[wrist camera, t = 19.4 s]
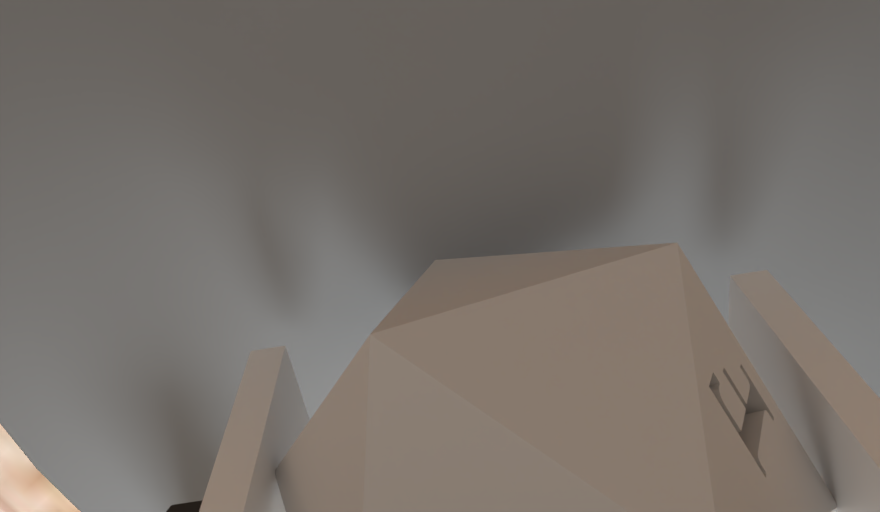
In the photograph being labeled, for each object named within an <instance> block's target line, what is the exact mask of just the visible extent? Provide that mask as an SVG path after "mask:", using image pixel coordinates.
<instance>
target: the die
mask: <svg viewBox="0 0 880 512" xmlns="http://www.w3.org/2000/svg"><path fill="white" fill-rule="evenodd" d="M275 474H276V480H277V483H278V487H279V490H280V493H281V497H282V500H283V503H284V507H285V510H286V512H836V511H837V508H838V507H837V504H836V501H835V499H834V497H833V496H832V494H831V492H830V491H829V489H828V487H827V486H826V484H825V483H824V481H823V479H822V478H821V476H820V474H819V473H818V471H817V469H816V468H815V466H814V465H813V463H812V461H811V460H810V458H809V456H808V455H807V453H806V452H805V450H804V448H803V447H802V445H801V443H800V442H799V440H798V438H797V437H796V435H795V434H794V432H793V430H792V429H791V427H790V425H789V424H788V422H787V421H786V419H785V417H784V416H783V414H782V412H781V411H780V409H779V408H778V406H777V404H776V403H775V401H774V399H773V398H772V396H771V394H770V393H769V391H768V390H767V388H766V386H765V385H764V383H763V381H762V380H761V378H760V377H759V375H758V373H757V372H756V370H755V368H754V367H753V365H752V364H751V362H750V360H749V359H748V357H747V355H746V354H745V352H744V350H743V349H742V347H741V346H740V344H739V342H738V341H737V339H736V337H735V336H734V334H733V333H732V331H731V329H730V328H729V326H728V324H727V323H726V321H725V319H724V318H723V316H722V315H721V313H720V311H719V310H718V308H717V306H716V305H715V303H714V302H713V300H712V298H711V297H710V295H709V293H708V292H707V290H706V289H705V287H704V285H703V284H702V282H701V280H700V279H699V277H698V275H697V274H696V272H695V271H694V269H693V267H692V266H691V264H690V262H689V261H688V259H687V258H686V256H685V254H684V253H683V251H682V249H681V248H680V246H679V245H678V243H665V244H651V245H637V246H623V247H609V248H595V249H581V250H567V251H553V252H540V253H526V254H512V255H498V256H484V257H470V258H456V259H442V260H435V261H434V262H433V263H432V264H431V265H430V267H429V268H428V269H427V270H426V271H425V272H424V273H423V275H422V276H421V277H420V278H419V279H418V280H417V281H416V283H415V284H414V285H413V286H412V287H411V288H410V289H409V290H408V292H407V293H406V294H405V295H404V296H403V297H402V298H401V300H400V301H399V302H398V303H397V304H396V305H395V306H394V308H393V309H392V310H391V311H390V312H389V313H388V314H387V315H386V317H385V318H384V319H383V320H382V321H381V322H380V323H379V325H378V326H377V327H376V328H375V329H374V330H373V331H372V333H371V334H370V335H369V336H368V338H367V339H366V341H365V342H364V344H363V345H362V346H361V348H360V349H359V351H358V352H357V354H356V355H355V356H354V358H353V359H352V361H351V362H350V364H349V365H348V366H347V368H346V369H345V371H344V372H343V374H342V375H341V376H340V378H339V379H338V381H337V382H336V384H335V385H334V386H333V388H332V389H331V391H330V392H329V394H328V395H327V396H326V398H325V399H324V401H323V402H322V404H321V405H320V406H319V408H318V409H317V411H316V412H315V414H314V415H313V416H312V418H311V419H310V421H309V422H308V424H307V425H306V426H305V428H304V429H303V431H302V432H301V434H300V435H299V437H298V438H297V439H296V441H295V442H294V444H293V445H292V447H291V448H290V449H289V451H288V452H287V454H286V455H285V457H284V458H283V459H282V461H281V462H280V464H279V465H278V467H277V468H276V469H275Z"/></svg>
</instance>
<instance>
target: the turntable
mask: <svg viewBox="0 0 880 512" xmlns="http://www.w3.org/2000/svg"><path fill="white" fill-rule="evenodd" d="M665 243H678V245H679V246H680V248H681V249H682V251H683V253H684V254H685V256H686V258H687V259H688V261H689V262H690V264H691V266H692V267H693V269H694V271H695V272H696V274H697V275H698V277H699V279H700V280H701V282H702V284H703V285H704V287H705V289H706V290H707V292H708V293H709V295H710V297H711V298H712V300H713V302H714V303H715V305H716V306H717V308H718V310H719V311H720V313H721V315H722V316H723V318H724V319H725V321H726V323H727V324H728V319H729V292H730V276H731V275H737V274H744V273H750V272H757V271H763V270H768V272H769V273H770V274H771V275H772V276H773V277H774V278H775V280H776V281H777V282H778V283H779V284H780V285H781V286H782V288H783V289H784V290H785V291H786V292H787V293H788V294H789V295H790V297H791V298H792V299H793V300H794V301H795V302H796V303H797V305H798V306H799V307H800V308H801V309H802V310H803V311H804V313H805V314H806V315H807V316H808V317H809V318H810V319H811V321H812V322H813V323H814V324H815V325H816V326H817V327H818V329H819V330H820V331H821V332H822V333H823V334H824V335H825V337H826V338H827V339H828V340H829V341H830V342H831V343H832V345H833V346H834V347H835V348H836V349H837V350H838V351H839V353H840V354H841V355H842V356H843V357H844V358H845V359H846V361H847V362H848V363H849V364H850V365H851V366H852V367H853V368H854V370H855V371H856V372H857V373H858V374H859V375H860V376H861V378H862V379H863V380H864V381H865V382H866V383H867V384H868V386H869V387H870V388H871V389H872V390H873V391H874V392H875V394H876V395H877V396H878V397H879V398H880V0H0V424H1V425H2V426H3V427H4V429H5V430H6V431H7V432H8V434H9V435H10V436H11V437H12V439H13V440H14V441H15V442H16V444H17V445H18V446H19V447H20V448H21V450H22V451H23V452H24V453H25V455H26V456H27V457H28V458H29V460H30V461H31V462H32V463H33V465H34V466H35V467H36V468H37V470H39V471H40V472H41V473H42V474H43V475H44V476H45V477H46V478H47V479H48V480H49V481H50V482H51V483H52V484H53V485H54V486H55V487H56V488H57V489H58V490H59V491H60V492H61V493H62V494H63V495H64V496H65V497H66V498H67V499H68V500H69V501H70V502H71V503H72V504H73V505H74V506H75V507H76V508H77V509H78V510H80V511H81V512H166V511H167V510H168V509H169V507H170V506H171V505H175V504H181V503H188V502H195V501H201V500H203V498H204V495H205V492H206V488H207V485H208V482H209V479H210V476H211V473H212V470H213V467H214V464H215V460H216V457H217V454H218V451H219V448H220V445H221V442H222V439H223V436H224V432H225V429H226V426H227V423H228V420H229V417H230V414H231V411H232V408H233V405H234V401H235V398H236V395H237V392H238V389H239V386H240V383H241V380H242V377H243V373H244V370H245V367H246V364H247V361H248V358H249V355H250V352H251V351H254V350H261V349H267V348H273V347H280V346H286V349H287V352H288V355H289V358H290V361H291V364H292V367H293V370H294V373H295V376H296V379H297V382H298V385H299V388H300V391H301V394H302V397H303V401H304V404H305V407H306V410H307V413H308V416H309V419H311V418H312V416H313V415H314V414H315V412H316V411H317V409H318V408H319V406H320V405H321V404H322V402H323V401H324V399H325V398H326V396H327V395H328V394H329V392H330V391H331V389H332V388H333V386H334V385H335V384H336V382H337V381H338V379H339V378H340V376H341V375H342V374H343V372H344V371H345V369H346V368H347V366H348V365H349V364H350V362H351V361H352V359H353V358H354V356H355V355H356V354H357V352H358V351H359V349H360V348H361V346H362V345H363V344H364V342H365V341H366V339H367V338H368V336H369V335H370V334H371V333H372V331H373V330H374V329H375V328H376V327H377V326H378V325H379V323H380V322H381V321H382V320H383V319H384V318H385V317H386V315H387V314H388V313H389V312H390V311H391V310H392V309H393V308H394V306H395V305H396V304H397V303H398V302H399V301H400V300H401V298H402V297H403V296H404V295H405V294H406V293H407V292H408V290H409V289H410V288H411V287H412V286H413V285H414V284H415V283H416V281H417V280H418V279H419V278H420V277H421V276H422V275H423V273H424V272H425V271H426V270H427V269H428V268H429V267H430V265H431V264H432V263H433V262H434V261H435V260H442V259H456V258H470V257H484V256H498V255H512V254H526V253H540V252H553V251H567V250H581V249H595V248H609V247H623V246H637V245H651V244H665Z"/></svg>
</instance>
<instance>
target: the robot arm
mask: <svg viewBox="0 0 880 512" xmlns="http://www.w3.org/2000/svg"><path fill="white" fill-rule="evenodd" d="M728 326H729V328H730V329H731V331H732V333H733V334H734V336H735V337H736V339H737V341H738V342H739V344H740V346H741V347H742V349H743V350H744V352H745V354H746V355H747V357H748V359H749V360H750V362H751V364H752V365H753V367H754V368H755V370H756V372H757V373H758V375H759V377H760V378H761V380H762V381H763V383H764V385H765V386H766V388H767V390H768V391H769V393H770V394H771V396H772V398H773V399H774V401H775V403H776V404H777V406H778V408H779V409H780V411H781V412H782V414H783V416H784V417H785V419H786V421H787V422H788V424H789V425H790V427H791V429H792V430H793V432H794V434H795V435H796V437H797V438H798V440H799V442H800V443H801V445H802V447H803V448H804V450H805V452H806V453H807V455H808V456H809V458H810V460H811V461H812V463H813V465H814V466H815V468H816V469H817V471H818V473H819V474H820V476H821V478H822V479H823V481H824V483H825V484H826V486H827V487H828V489H829V491H830V492H831V494H832V496H833V497H834V499H835V501H836V504H837V507H838V508H837V511H836V512H880V398H879V397H878V396H877V395H876V394H875V392H874V391H873V390H872V389H871V388H870V387H869V386H868V384H867V383H866V382H865V381H864V380H863V379H862V378H861V376H860V375H859V374H858V373H857V372H856V371H855V370H854V368H853V367H852V366H851V365H850V364H849V363H848V362H847V361H846V359H845V358H844V357H843V356H842V355H841V354H840V353H839V351H838V350H837V349H836V348H835V347H834V346H833V345H832V343H831V342H830V341H829V340H828V339H827V338H826V337H825V335H824V334H823V333H822V332H821V331H820V330H819V329H818V327H817V326H816V325H815V324H814V323H813V322H812V321H811V319H810V318H809V317H808V316H807V315H806V314H805V313H804V311H803V310H802V309H801V308H800V307H799V306H798V305H797V303H796V302H795V301H794V300H793V299H792V298H791V297H790V295H789V294H788V293H787V292H786V291H785V290H784V289H783V288H782V286H781V285H780V284H779V283H778V282H777V281H776V280H775V278H774V277H773V276H772V275H771V274H770V273H769V272H768V270H763V271H757V272H750V273H744V274H737V275H731V276H730V292H729V319H728ZM309 421H310V419H309V416H308V413H307V410H306V407H305V404H304V401H303V397H302V394H301V391H300V388H299V385H298V382H297V379H296V376H295V373H294V370H293V367H292V364H291V361H290V358H289V355H288V352H287V349H286V346H280V347H273V348H267V349H261V350H254V351H251V352H250V355H249V358H248V361H247V364H246V367H245V370H244V373H243V377H242V380H241V383H240V386H239V389H238V392H237V395H236V398H235V401H234V405H233V408H232V411H231V414H230V417H229V420H228V423H227V426H226V429H225V432H224V436H223V439H222V442H221V445H220V448H219V451H218V454H217V457H216V460H215V464H214V467H213V470H212V473H211V476H210V479H209V482H208V485H207V488H206V492H205V495H204V498H203V500H201V501H195V502H188V503H181V504H175V505H171V506H170V507H169V509H168V510H167V511H166V512H286V510H285V507H284V503H283V500H282V497H281V493H280V490H279V487H278V483H277V480H276V474H275V469H276V468H277V467H278V465H279V464H280V462H281V461H282V459H283V458H284V457H285V455H286V454H287V452H288V451H289V449H290V448H291V447H292V445H293V444H294V442H295V441H296V439H297V438H298V437H299V435H300V434H301V432H302V431H303V429H304V428H305V426H306V425H307V424H308V422H309Z"/></svg>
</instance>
